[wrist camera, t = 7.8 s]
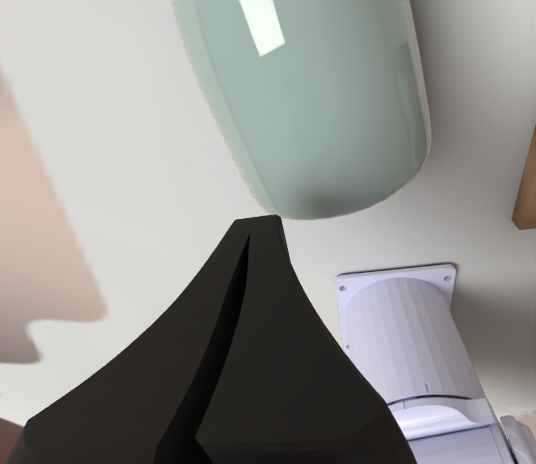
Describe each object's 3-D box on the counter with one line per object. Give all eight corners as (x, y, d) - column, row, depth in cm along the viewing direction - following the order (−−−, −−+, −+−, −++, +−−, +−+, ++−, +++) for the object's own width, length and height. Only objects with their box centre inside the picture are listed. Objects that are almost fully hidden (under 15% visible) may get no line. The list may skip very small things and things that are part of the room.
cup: (269, -208, 6) (389, 231, 12) (419, -208, 11) (458, 115, 16) (86, -33, 12) (225, 217, 17) (235, -79, 16) (310, 133, 21)
